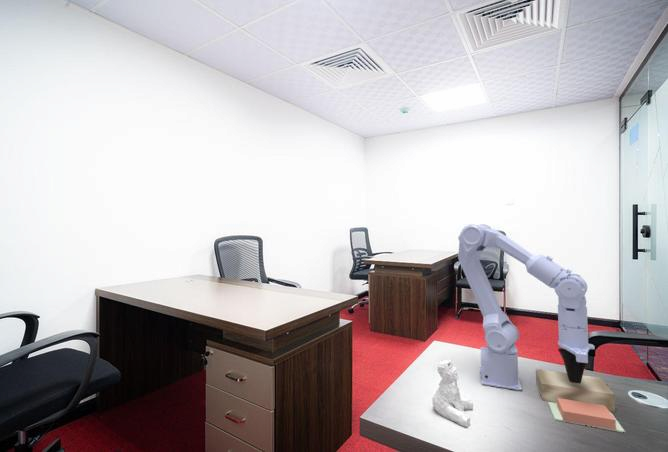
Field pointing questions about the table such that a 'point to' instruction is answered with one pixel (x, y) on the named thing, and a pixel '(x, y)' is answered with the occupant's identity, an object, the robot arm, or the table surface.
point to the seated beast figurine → (451, 396)
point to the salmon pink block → (586, 413)
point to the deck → (574, 389)
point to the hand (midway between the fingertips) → (574, 381)
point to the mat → (558, 417)
